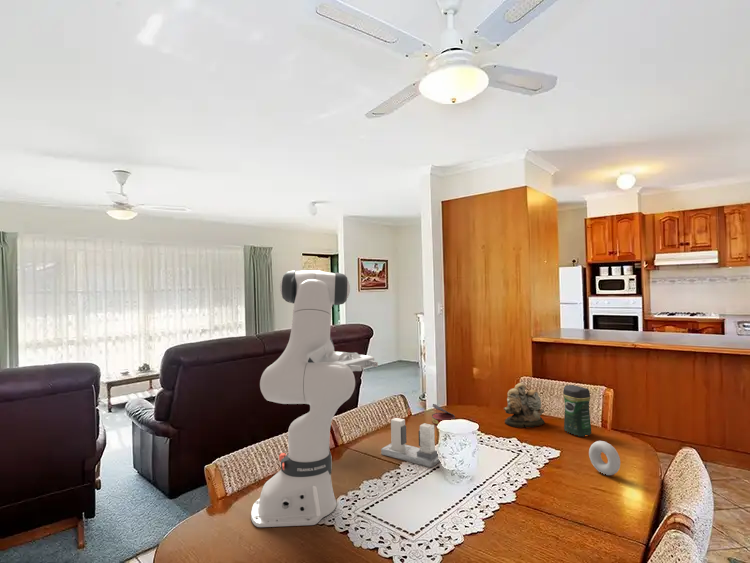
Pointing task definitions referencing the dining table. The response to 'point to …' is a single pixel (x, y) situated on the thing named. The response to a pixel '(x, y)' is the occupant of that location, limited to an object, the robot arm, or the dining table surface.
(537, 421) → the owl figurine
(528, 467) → the dining table surface
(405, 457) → the steel rail
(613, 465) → the donut
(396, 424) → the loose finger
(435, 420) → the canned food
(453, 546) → the dining table surface
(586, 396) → the coffee jar
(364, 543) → the dining table surface
